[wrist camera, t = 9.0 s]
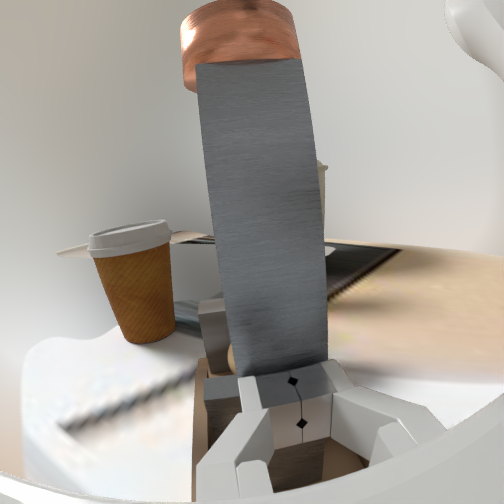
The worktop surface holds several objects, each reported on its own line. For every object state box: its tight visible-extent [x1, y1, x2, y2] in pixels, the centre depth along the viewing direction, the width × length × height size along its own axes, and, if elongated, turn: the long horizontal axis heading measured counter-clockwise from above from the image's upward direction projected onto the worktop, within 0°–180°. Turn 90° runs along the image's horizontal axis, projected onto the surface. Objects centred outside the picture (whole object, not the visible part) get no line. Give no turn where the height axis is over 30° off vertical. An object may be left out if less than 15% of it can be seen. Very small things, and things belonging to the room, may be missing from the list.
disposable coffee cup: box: [87, 220, 176, 343], centre depth 31 cm, size 10×10×12 cm
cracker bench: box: [192, 298, 370, 502], centre depth 13 cm, size 20×9×6 cm, turn 7°
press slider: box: [180, 0, 328, 491], centre depth 10 cm, size 6×6×18 cm
